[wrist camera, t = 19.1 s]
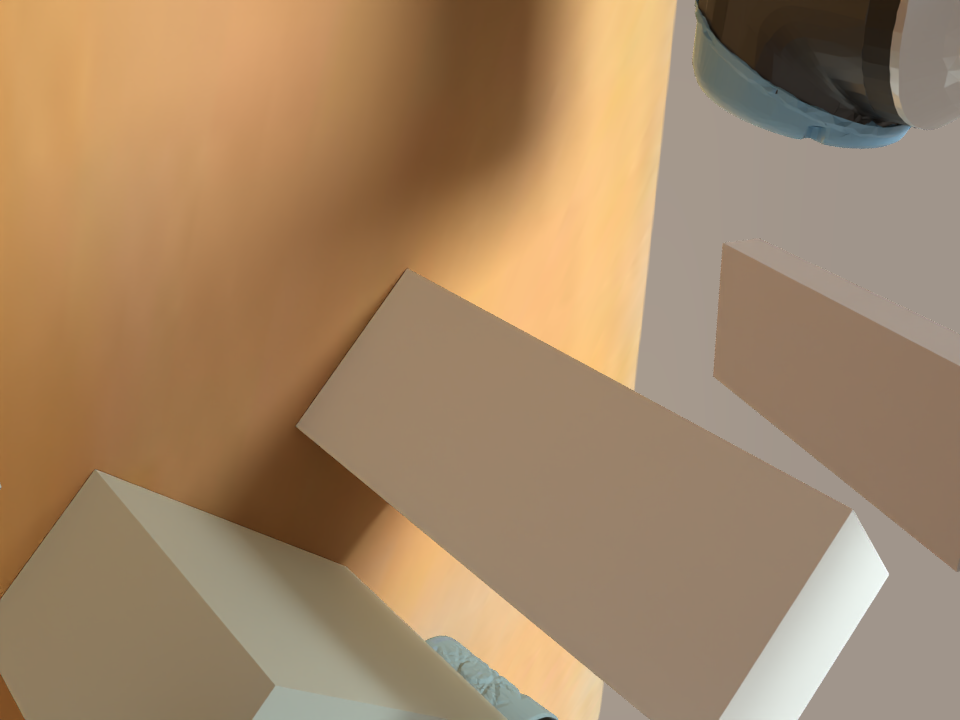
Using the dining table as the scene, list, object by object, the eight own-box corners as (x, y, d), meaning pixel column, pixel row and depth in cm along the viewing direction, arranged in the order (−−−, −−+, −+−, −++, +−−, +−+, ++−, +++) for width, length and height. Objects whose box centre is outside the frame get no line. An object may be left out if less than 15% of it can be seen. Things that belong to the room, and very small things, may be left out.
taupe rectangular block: (295, 426, 55) (695, 757, 36) (407, 268, 56) (852, 509, 37) (402, 485, 64) (764, 772, 45) (496, 348, 65) (889, 574, 46)
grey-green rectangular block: (-23, 630, 46) (162, 979, 32) (95, 469, 46) (323, 743, 33) (264, 685, 63) (463, 928, 49) (346, 566, 64) (564, 773, 50)
